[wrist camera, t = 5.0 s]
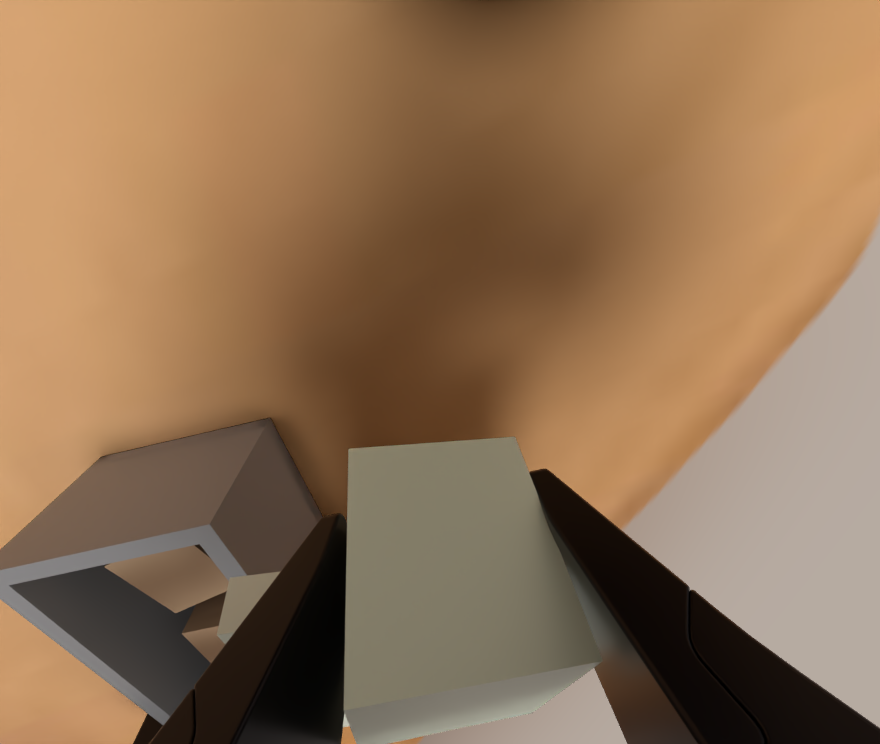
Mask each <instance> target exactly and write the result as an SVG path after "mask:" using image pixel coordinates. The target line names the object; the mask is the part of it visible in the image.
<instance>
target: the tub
mask: <svg viewBox="0 0 880 744" xmlns="http://www.w3.org/2000/svg"><path fill="white" fill-rule="evenodd" d="M322 517H323V516H322V514H321V513H320V511H319V509H318V507H317V505H316V503H315V501H314V499H313V498H312V496H311V494H310V492H309V490H308V488H307V486H306V484H305V482H304V481H303V479H302V477H301V475H300V473H299V471H298V469H297V467H296V465H295V464H294V462H293V460H292V458H291V456H290V454H289V452H288V450H287V449H286V447H285V445H284V443H283V441H282V439H281V437H280V435H279V433H278V432H277V430H276V428H275V426H274V424H273V422H272V420H271V418H267V419H263V420H259V421H254V422H250V423H246V424H241V425H237V426H233V427H228V428H224V429H220V430H216V431H211V432H207V433H203V434H198V435H194V436H190V437H185V438H181V439H177V440H172V441H168V442H164V443H159V444H155V445H151V446H146V447H142V448H138V449H133V450H129V451H125V452H120V453H116V454H112V455H107V456H103V457H100V458H99V459H98V460H97V461H96V462H95V463H94V464H93V465H92V466H91V467H90V468H88V469H87V470H86V471H85V472H84V473H83V474H82V475H81V476H80V477H79V478H78V479H77V480H75V481H74V482H73V483H72V484H71V485H70V486H69V487H68V488H67V489H66V490H65V491H64V492H62V493H61V494H60V495H59V496H58V497H57V498H56V499H55V500H54V501H53V502H52V503H51V504H49V505H48V506H47V507H46V508H45V509H44V510H43V511H42V512H41V513H40V514H39V515H38V516H36V517H35V518H34V519H33V520H32V521H31V522H30V523H29V524H28V525H27V526H26V527H24V528H23V529H22V530H21V531H20V532H19V533H18V534H17V535H16V536H15V537H14V538H13V539H11V540H10V541H9V542H8V543H7V544H6V545H5V546H4V547H3V548H2V549H1V550H0V599H1V600H2V601H3V602H5V603H6V604H7V605H9V606H10V607H11V608H12V609H14V610H15V611H16V612H18V613H19V614H20V615H21V616H23V617H24V618H25V619H27V620H28V621H29V622H30V623H32V624H33V625H34V626H36V627H37V628H38V629H40V630H41V631H42V632H43V633H45V634H46V635H47V636H49V637H50V638H51V639H52V640H54V641H55V642H56V643H58V644H59V645H60V646H61V647H63V648H64V649H65V650H67V651H68V652H69V653H70V654H72V655H73V656H74V657H76V658H77V659H78V660H79V661H81V662H82V663H83V664H85V665H86V666H87V667H88V668H90V669H91V670H92V671H94V672H95V673H96V674H98V675H99V676H100V677H101V678H103V679H104V680H105V681H107V682H108V683H109V684H110V685H112V686H113V687H114V688H116V689H117V690H118V691H119V692H121V693H122V694H123V695H125V696H126V697H127V698H128V699H130V700H131V701H132V702H134V703H135V704H136V705H137V706H139V707H140V708H141V709H143V710H144V711H145V712H146V713H148V714H149V715H150V716H152V717H153V718H154V719H156V720H157V721H158V722H159V723H161V724H162V725H164V724H165V723H166V721H167V720H168V719H169V717H170V716H171V715H172V714H173V712H174V711H175V710H176V708H177V707H178V706H179V704H180V703H181V702H182V700H183V699H184V698H185V697H186V695H187V694H188V693H189V691H190V690H191V689H194V687H195V684H196V682H197V681H198V680H199V678H200V677H201V676H202V674H203V673H204V672H205V670H206V669H207V668H208V666H209V665H210V664H211V663H210V662H209V661H208V660H207V659H206V658H205V657H204V656H203V655H202V654H201V653H200V652H199V651H198V650H197V649H196V648H195V647H194V646H193V645H192V644H191V643H190V642H189V641H188V640H187V639H186V638H185V637H184V636H183V635H182V632H183V630H184V628H185V626H186V624H187V622H188V620H189V618H190V616H191V614H192V612H193V610H194V608H195V606H196V605H194V606H191V607H189V608H187V609H185V610H182V611H180V612H178V613H174V612H173V611H171V610H170V609H168V608H167V607H165V606H164V605H162V604H161V603H159V602H157V601H156V600H154V599H153V598H151V597H150V596H148V595H147V594H145V593H144V592H142V591H141V590H139V589H137V588H136V587H134V586H133V585H131V584H130V583H128V582H127V581H125V580H124V579H122V578H120V577H119V576H117V575H116V574H114V573H113V572H111V571H110V570H108V569H107V568H105V567H104V566H105V564H110V563H114V562H119V561H124V560H128V559H133V558H137V557H142V556H147V555H151V554H156V553H160V552H165V551H170V550H174V549H179V548H184V547H188V546H193V545H197V544H200V545H201V547H202V548H203V549H204V550H205V552H206V553H207V554H208V556H209V557H210V558H211V559H212V561H213V562H214V563H215V564H216V566H217V567H218V568H219V570H220V571H221V572H222V573H223V575H224V576H225V577H226V578H227V580H228V581H229V579H230V578H232V577H240V576H248V575H256V574H264V573H272V572H280V571H281V570H282V569H283V568H284V566H285V565H286V564H287V562H288V561H289V560H290V559H291V557H292V556H293V555H294V553H295V552H296V551H297V549H298V548H299V547H300V545H301V544H302V543H303V541H304V540H305V539H306V537H307V536H308V535H309V534H310V532H311V531H312V530H313V528H314V527H315V526H316V524H317V523H318V522H319V520H320V519H321V518H322Z"/></svg>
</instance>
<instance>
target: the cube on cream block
mask: <svg viewBox="0 0 880 744" xmlns="http://www.w3.org/2000/svg"><path fill="white" fill-rule="evenodd" d="M280 572H281V571H280ZM280 572H272V573H264V574H256V575H248V576H240V577H232V578H230V579H229V584H228V588H227V592H226V597H225V601H224V605H223V610H222V614H221V618H220V623H219V627H218V631H217V636H218V637H219V638H220V639H221V640H222V641H223V643H224V644H226V643H227V641H228V640H229V639H230V638H231V636H232V635H233V634H234V632H235V631H236V630H237V628H238V627H239V626H240V624H241V623H242V622H243V620H244V619H245V618H246V616H247V615H248V614H249V613H250V611H251V610H252V609H253V607H254V606H255V605H256V603H257V602H258V601H259V599H260V598H261V597H262V595H263V594H264V593H265V591H266V590H267V589H268V587H269V586H270V585H271V584H272V582H273V581H274V580H275V578H276V577H277V576H278V574H279V573H280ZM602 661H603V660H602V657H601V655H600V652H599V650H598V647H597V644H596V642H595V639H594V637H593V634H592V632H591V629H590V627H589V624H588V622H587V619H586V616H585V614H584V611H583V609H582V606H581V604H580V601H579V599H578V596H577V593H576V591H575V588H574V586H573V583H572V581H571V578H570V576H569V573H568V571H567V568H566V565H565V563H564V560H563V558H562V555H561V553H560V550H559V548H558V546H557V544H556V542H555V540H554V538H553V535H552V533H551V531H550V529H549V526H548V524H547V521H546V518H545V516H544V513H543V510H542V507H541V504H540V501H539V498H538V494H537V491H536V489H535V486H534V484H533V481H532V479H531V476H530V474H529V471H528V468H527V466H526V463H525V461H524V458H523V456H522V453H521V451H520V448H519V446H518V443H517V440H516V438H515V437H503V438H490V439H476V440H462V441H448V442H434V443H420V444H406V445H392V446H379V447H365V448H351V449H348V501H347V555H346V610H345V664H344V721H343V727H347V726H350V728H351V731H352V733H353V736H354V738H355V741H356V743H357V744H388V743H393V742H397V741H402V740H407V739H412V738H416V737H421V736H426V735H431V734H435V733H440V732H445V731H450V730H454V729H459V728H464V727H469V726H473V725H478V724H483V723H488V722H492V721H497V720H502V719H506V718H511V717H516V716H521V715H526V714H530V713H533V712H534V711H536V710H537V709H539V708H540V707H541V706H543V705H544V704H545V703H547V702H548V701H549V700H551V699H552V698H553V697H555V696H556V695H557V694H559V693H560V692H562V691H563V690H564V689H565V688H567V687H568V686H570V685H571V684H572V683H574V682H575V681H576V680H578V679H579V678H581V677H582V676H583V675H585V674H586V673H587V672H588V671H590V670H591V669H593V668H594V667H595V666H597V665H598V664H600V663H601V662H602Z"/></svg>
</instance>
